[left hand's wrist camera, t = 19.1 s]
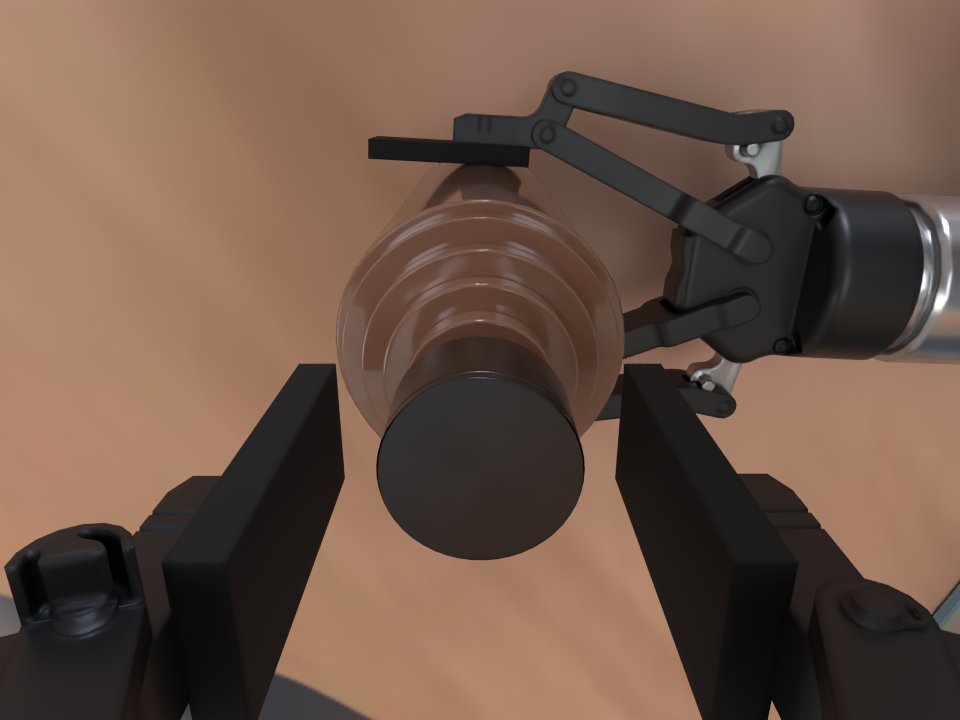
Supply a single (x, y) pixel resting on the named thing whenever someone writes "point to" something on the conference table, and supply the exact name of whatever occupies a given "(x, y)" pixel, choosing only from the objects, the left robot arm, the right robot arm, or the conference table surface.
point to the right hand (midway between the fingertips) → (373, 250)
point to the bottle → (480, 289)
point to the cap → (480, 450)
